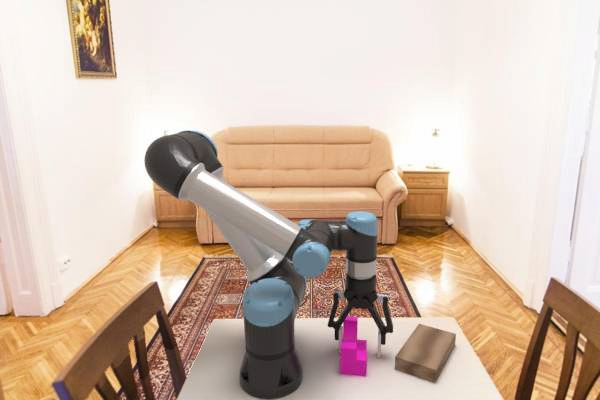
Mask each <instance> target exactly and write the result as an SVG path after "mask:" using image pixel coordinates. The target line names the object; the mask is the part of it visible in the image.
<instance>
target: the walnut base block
mask: <svg viewBox="0 0 600 400" xmlns="http://www.w3.org/2000/svg"><path fill="white" fill-rule="evenodd" d="M417 324H418V325H417V326H416V327H415V328H414V330H413V331H412V333H410V336H409V337H408V338H407V340H406V341H405V343H404V344H403V345H402V346H401V348H400V349H399V351H398V352H397V354H396V355H395V357H394V370H395V371H398V372H401V373H405V374H407V375H410V376H413V377H416V378H418V379H422V380H424V381H428V382H430V383H433V384H436V383H437V380H438V379H439V377H440V375H441V373H442V371H443V369H444V368H445V365H446V364H447V361H448V360H449V357H451V354H452V352H453V350H454V348H455V347H456V337H457V333H455V332H451V331H447V330H444V329H439V328H436V327H432V326H429V325H425V324H423V323H417Z"/></svg>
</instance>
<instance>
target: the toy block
mask: <svg viewBox="0 0 600 400" xmlns="http://www.w3.org/2000/svg"><path fill="white" fill-rule="evenodd" d="M358 321H359V320H358V316H349V315H348V316H347V317H346V319H345V320H344V322H343V323H342V326H343V342H341V353H340V375H344V376H357V377H367V375H368V374H367V373H368V372H367V363H368V349H367V342H368V341H367V340H366V339H358V325H359V324H358Z"/></svg>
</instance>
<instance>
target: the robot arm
mask: <svg viewBox="0 0 600 400" xmlns="http://www.w3.org/2000/svg"><path fill="white" fill-rule="evenodd" d="M146 149H147V150H146V151H145V155H144V168H145V170H146V173H147V175H148V177H149V178H150V179H151V181H153V183H155V184H156V185H157V186H158V187H159V188H160V189H161V190H163V191H164V192H166V193H167V194H169V195H171V196H173V197H174V198H175V199H178V200H179V201H181V202H182V201H188V200H189V201H190V202H192V203H193V204H195V205H197V206H198V207H200V208H202V209H203V210H204V211H205V213H206V214H207V215H208V217H209V218H210V220H211V221H212V222H213V224H214V226H216V228H217V229H218V231H219V232H220V234H221V235H222V236H223V238H224V239H225V241H226V242H227V243H228V245H229V246H230V248H231V249H232V250H233V252H234V253H235V255H236V256H237V258H239V260H240V261H241V263H242V264H243V266H244V268H245V269H246V270H247V278H246V280H247V281H248V283H249V286H248V287H246V289H245V292H244V293H243V296H242V313H243V325H244V327H243V328H244V343H245V352H244V356H243V359H242V362H241V365H240V369H239V382H240V386H241V387H242V389H243V390H244V391H245V392H246V393H247V394H249V395H250V396H253V397H255V398H259V399H270V400H271V399H278V398H282V397H285V396H288V395H290V394H291V393H293V392H295V391H296V390H297V389H298V388H299V387H300V385H301V384H302V382H303V373H304V372H303V370H304V369H303V365H302V362H301V359H300V357H299V354H298V353H297V350H296V346H295V345H296V343H295V341H296V340H295V339H296V338H295V320H296V317H297V314H298V312H299V309H300V306H301V303H302V301H303V299H304V298H305V295H306V290H307V279H314V278H317V277H319V276H321V275H323V273H324V272H326V270H327V267H328V266H329V264H330V260H331V255H332V252H345V272H346V274H345V289H344V290H342V291H341V290H339V289H335V290H334V292H333V294H332V295H333V305H332V308H331V311H330V315H329V318H328V322H327V327H328V328H332V329H334V340H335V341H338V354H341V342H343V322H344V320H345V319H346V317H347V316H349V314H350V313H351V311H352V309H353V308H354V309H362V310H367V311H368V313H369V314H370V315H371V317H372V319H373V321H374V323H375V325H376V326H377V329H378V331H377V356H376V357H377V358H378V359H379V358H381V355H382V354H381V353H382V345H383V346H385V345H386V340H387V338H386V336H387V334H392V333H393V332H394V323H393V320H392V315H391V312H390V311H391V310H390V306H389V303H388V302H389V293H387V292H385V293H383V294H381V293H378V291H377V265H378V264H377V261H378V258H377V257H378V256H377V255H378V254H377V253H378V217H377V216H376V215H375V214H373V213H372V212H369V211H365V210H364V211H363V210H362V211H361V210H359V211H351V212H349V213H348V214H346V218H345V220H331V219H329V220H328V219H315V218H311V219H301V220H300V221H299V222H298V223H295V222H293V221H292V220H290V219H288V218H287V217H286V216H284V215H282V214H280V213H279V212H276V211H275V210H274V209H272V208H270V207H268V206H267V205H265V204H263V203H261V202H260V201H258V200H256V199H255V198H253V197H251V196H250V195H249V194H246V193H245V192H243V191H241V190H240V189H238V188H236V186H235V187H234V186H233V185H231V184H229V183H228V182H227V181H226V178H224V176H223V174H224V166H223V165H222V163H221V161H220V160H219V159H218V152H219V151H218V147H217V145H216V143H215V142H214V140H213V139H212V138H211V137H210V136H209V135H207V133H204V132H201V131H199V130H182V131H179V132H176V133H172V134H169V135H168V134H167V135H162V136H160V137H158V138H156V139H155V140H153V141H152V142H151V143H150V144H149V145H148V146H147V148H146ZM343 297H344V298H345V300H346V301H347V303H346V306H345V307H344V308H343V310H342V311H341V313H340V315H339V317H338V318H337V319H336V320H335V317H336V313H337V310H338V307H339V303H340V301H342V299H343ZM377 300H378V301H379V303H380V304H381V305H382V310H383V316H384V320H385V323H386V325H385V323H384V321H383V320H382V317H381V315H380V314H379V312H378V310H377V308H376V306H375V302H376V301H377Z"/></svg>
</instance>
